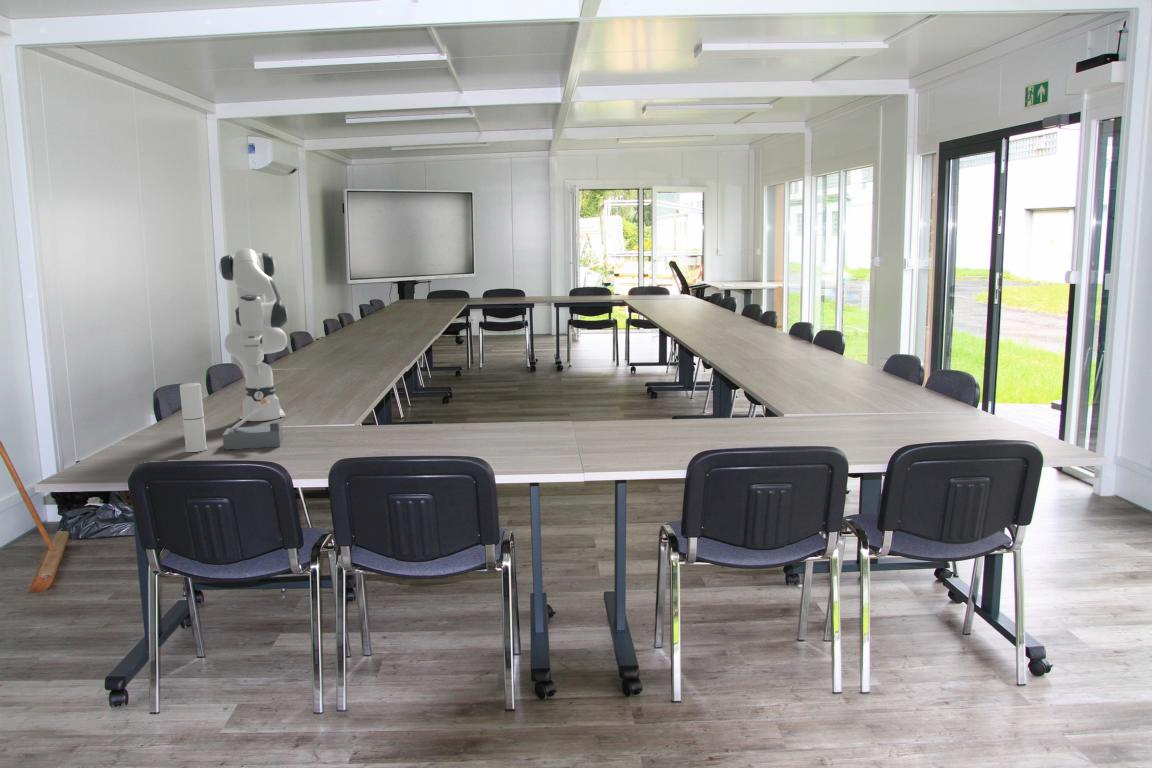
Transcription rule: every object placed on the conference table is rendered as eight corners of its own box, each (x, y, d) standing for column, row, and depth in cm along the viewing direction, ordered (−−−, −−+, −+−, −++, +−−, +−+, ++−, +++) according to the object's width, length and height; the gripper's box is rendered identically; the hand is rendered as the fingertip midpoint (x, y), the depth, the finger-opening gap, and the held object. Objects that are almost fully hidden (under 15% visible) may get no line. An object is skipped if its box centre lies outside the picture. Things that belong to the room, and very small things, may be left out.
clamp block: (228, 443, 333) (226, 420, 331) (283, 439, 337) (281, 417, 335) (223, 450, 322) (221, 426, 321) (280, 446, 326) (278, 423, 325)
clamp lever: (233, 429, 329) (229, 424, 328) (270, 402, 330) (265, 396, 329) (232, 431, 325) (227, 426, 324) (268, 404, 326) (264, 398, 326)
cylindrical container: (188, 454, 318) (181, 387, 313) (184, 450, 323) (177, 384, 319) (208, 450, 322) (202, 384, 317) (204, 447, 327) (198, 382, 323)
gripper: (248, 336, 333) (252, 372, 335) (240, 341, 313) (244, 379, 316) (266, 335, 334) (269, 371, 337) (259, 340, 315) (262, 378, 317)
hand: (257, 375), depth 326 cm, fingers closed
